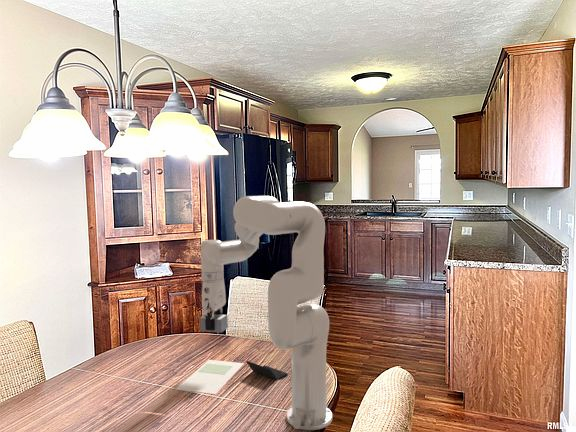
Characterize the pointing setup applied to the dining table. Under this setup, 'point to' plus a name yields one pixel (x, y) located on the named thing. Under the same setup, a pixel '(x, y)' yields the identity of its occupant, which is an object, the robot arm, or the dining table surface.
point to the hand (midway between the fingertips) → (214, 326)
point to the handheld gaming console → (267, 371)
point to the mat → (210, 377)
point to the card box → (220, 323)
